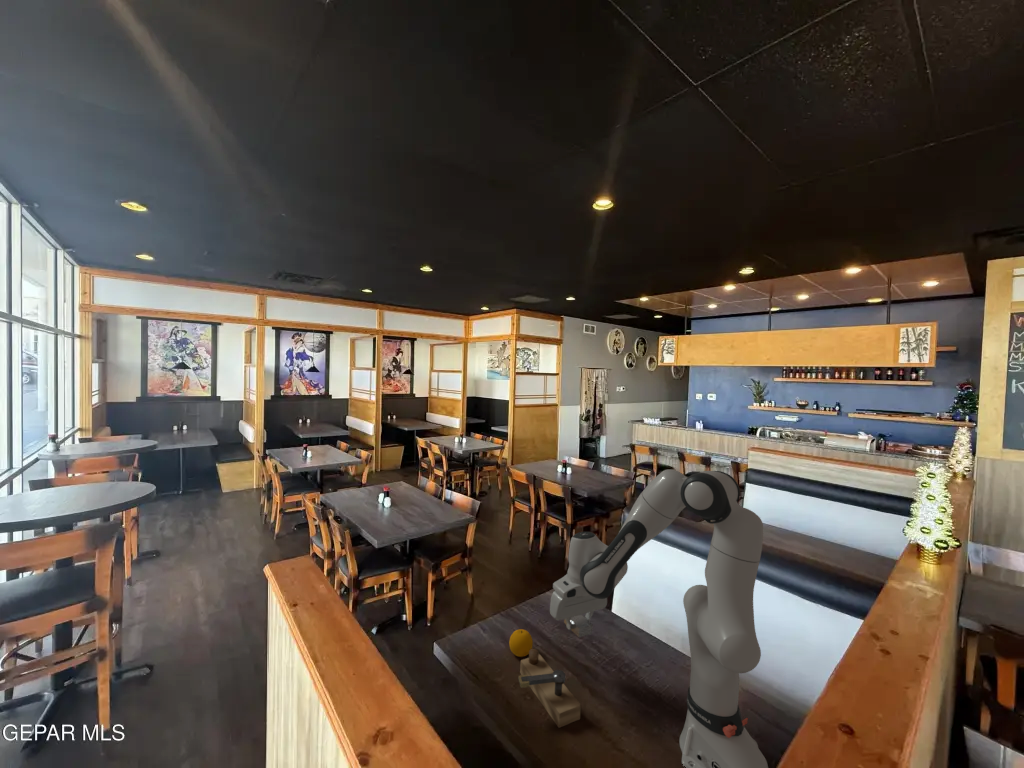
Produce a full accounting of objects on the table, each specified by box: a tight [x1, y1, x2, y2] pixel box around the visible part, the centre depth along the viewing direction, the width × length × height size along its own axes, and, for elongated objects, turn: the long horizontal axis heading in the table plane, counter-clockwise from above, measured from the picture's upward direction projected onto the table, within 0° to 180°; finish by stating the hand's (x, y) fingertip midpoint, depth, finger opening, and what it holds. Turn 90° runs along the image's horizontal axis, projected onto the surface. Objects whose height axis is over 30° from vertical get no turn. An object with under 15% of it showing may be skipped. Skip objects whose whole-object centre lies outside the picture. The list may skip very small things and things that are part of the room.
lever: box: [517, 669, 566, 689], centre depth 116 cm, size 13×4×2 cm, turn 102°
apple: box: [508, 628, 534, 658], centre depth 139 cm, size 8×8×8 cm
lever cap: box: [563, 614, 594, 638], centre depth 131 cm, size 8×5×3 cm, turn 27°
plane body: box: [519, 648, 582, 729], centre depth 122 cm, size 22×7×8 cm, turn 27°
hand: (578, 625), depth 131 cm, fingers closed on lever cap, 5 cm apart
